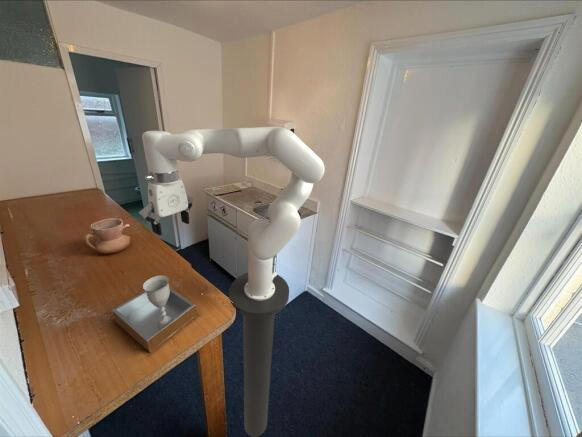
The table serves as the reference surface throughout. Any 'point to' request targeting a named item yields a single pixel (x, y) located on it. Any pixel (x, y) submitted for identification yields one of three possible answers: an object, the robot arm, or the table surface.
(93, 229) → the ceramic jug
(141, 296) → the grey rectangular tray
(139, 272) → the table surface
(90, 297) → the table surface
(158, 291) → the chalice
